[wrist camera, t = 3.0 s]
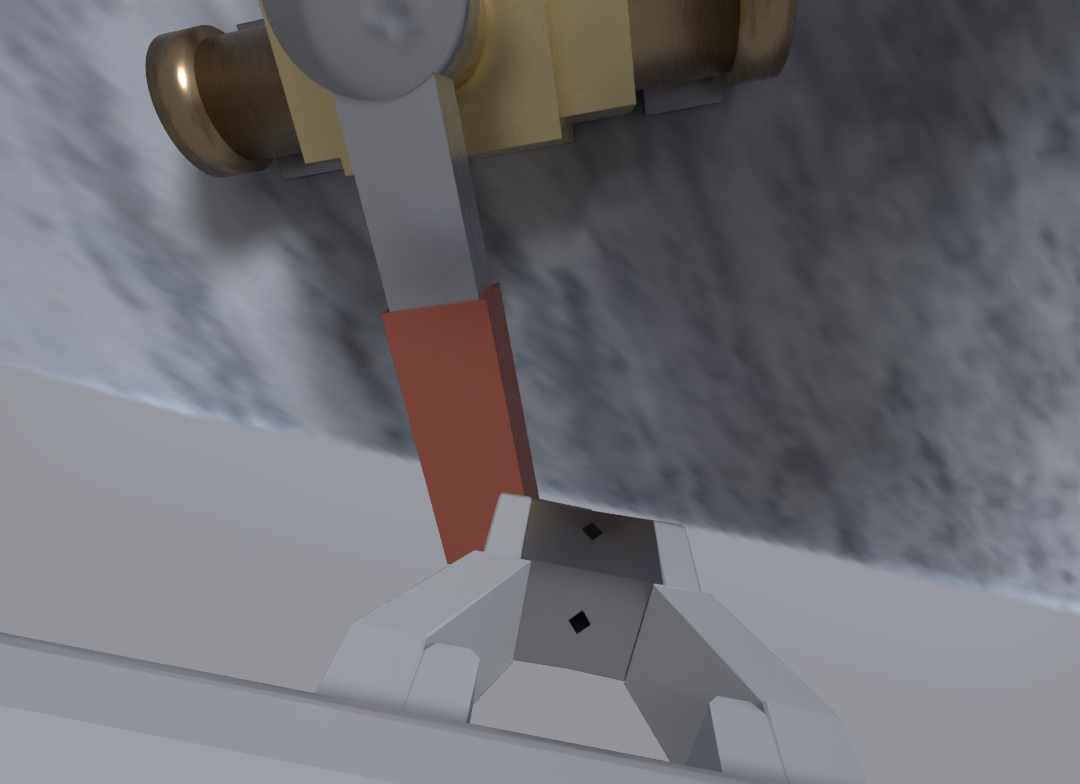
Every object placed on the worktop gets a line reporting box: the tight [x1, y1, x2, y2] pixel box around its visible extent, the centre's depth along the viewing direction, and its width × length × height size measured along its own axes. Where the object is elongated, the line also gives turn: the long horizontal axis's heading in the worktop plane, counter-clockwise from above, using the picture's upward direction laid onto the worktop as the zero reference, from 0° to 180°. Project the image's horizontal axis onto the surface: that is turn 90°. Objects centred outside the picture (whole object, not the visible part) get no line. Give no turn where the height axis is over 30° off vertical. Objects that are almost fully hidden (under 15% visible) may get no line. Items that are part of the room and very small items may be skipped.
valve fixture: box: [146, 0, 797, 179], centre depth 19 cm, size 22×7×11 cm, turn 99°
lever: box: [262, 0, 539, 564], centre depth 15 cm, size 17×4×2 cm, turn 9°
